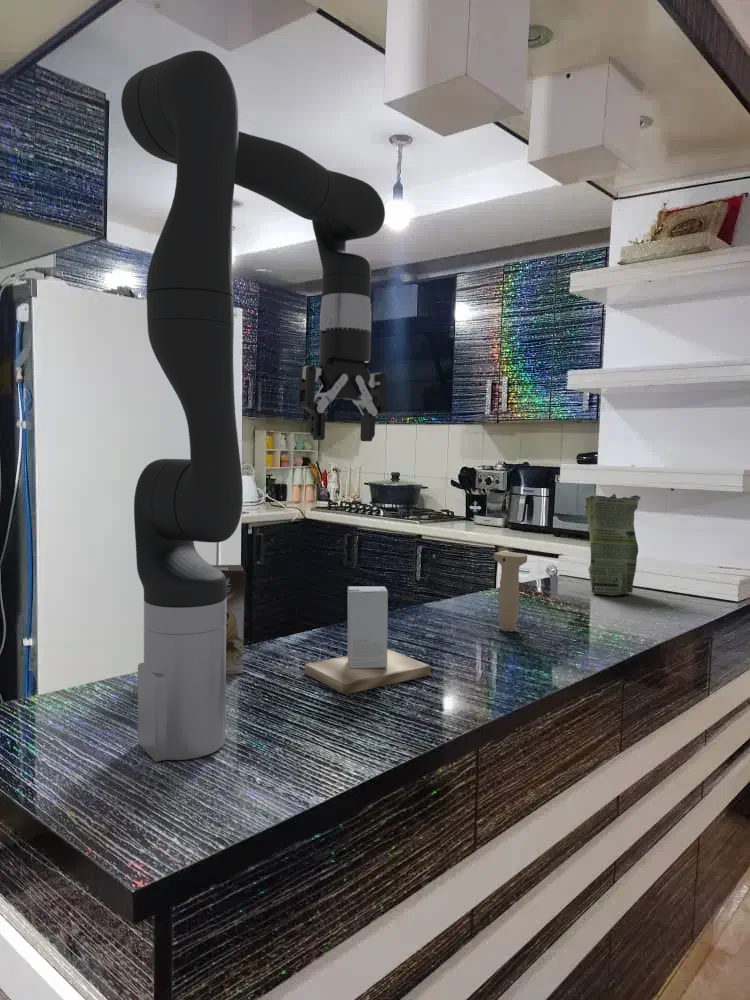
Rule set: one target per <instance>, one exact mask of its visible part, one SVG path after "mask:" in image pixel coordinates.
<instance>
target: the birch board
mask: <svg viewBox="0 0 750 1000" xmlns="http://www.w3.org/2000/svg"><path fill="white" fill-rule="evenodd" d="M304 674H305V675H307V676H309V677H311V678H313V679H314V680H316V681H318V682H320V683H322V684H324V685H326V686H328V687H330V688H332V689H334V690H335V691H338V692H339V693H342V694H343V695H349V694H354V693H358V692H362V691H367V690H372V689H375V688H376V689H377V688H380V687H384V686H389V685H393V684H398V683H401V682H407V681H410V680H415V679H419V678H424V677H428V676H431V665H430V664H428V663H425V662H423V661H419V660H417V659H414V658H413V657H411V656H410V657H409V656H408V655H404V654H402V653H400V652H397V651H394V650H392V649H389V648H388V647H387V668H349V664H348V655H346V656H340V657H334V658H329V659H324V660H319V661H314V662H309V663H305V664H304Z"/></svg>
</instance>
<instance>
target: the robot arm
mask: <svg viewBox="0 0 750 1000" xmlns="http://www.w3.org/2000/svg"><path fill="white" fill-rule="evenodd" d="M120 101H121V102H120V103H121V112H122V116H123V119H124V123H125V125H126V127H127V128H126V129H127V130H128V131H129V133H130V136H132V138H133V140H135V142H136V143H137V144H138V145H139V146H140V147H141V148H142V149H143V150H144V151H145V152H147V153H148V154H150V155H151V156H154V158H156V159H160V160H162V161H166V162H169V163H172V164H174V165H176V183H175V188H174V195H173V199H172V204H171V206H170V210H169V212H168V215H167V218H166V220H165V223H164V225H163V228H162V230H161V233H160V235H159V238H158V240H157V242H156V245H155V247H154V250H153V253H152V255H151V258H150V263H149V267H148V269H147V270H148V271H147V276H146V318H147V319H146V320H147V322H146V323H147V334H148V340H149V343H150V346H151V349H152V351H153V353H154V356H155V358H156V360H157V362H158V363H159V365H160V367H161V369H162V371H163V374H164V375H165V377H166V379H167V380H168V382H169V383H170V385H171V387H172V389H173V391H174V393H176V396H177V398H178V399H179V400H178V401H180V404H181V407H182V410H183V413H184V415H185V419H186V422H187V428H188V439H189V452H190V453H189V454H190V459H189V458H188V459H186V458H160V459H156V460H153V461H152V462H150V463H148V464H147V465H146V466H145V467H144V468H143V470H142V471H141V473H140V475H139V478H138V480H137V483H136V486H135V492H134V498H133V500H134V502H133V521H134V522H133V523H134V538H135V554H136V556H135V557H136V558H135V559H136V560H135V561H136V569H137V574H138V578H139V580H140V582H141V585H142V589H143V662H139V663H138V665H137V744H138V745H139V746H140V747H141V749H143V750H144V751H145V752H146V753H147V755H148V756H149V757H150V758H151V760H152V761H154V762H160V761H161V762H162V761H167V760H168V761H174V760H175V761H179V760H180V761H181V760H182V761H183V760H191V759H198V758H201V757H206V756H208V755H211V754H213V753H215V752H218V751H219V750H220V749H221V748H222V747H223V746H224V745H225V743H226V728H227V720H226V715H227V714H226V712H227V711H226V709H227V708H226V706H227V705H226V703H227V702H226V701H227V700H226V699H227V697H226V696H227V692H226V691H227V689H226V688H227V687H226V686H227V685H226V684H227V678H226V677H227V674H226V606H227V598H226V597H227V581H226V577H225V575H224V574H223V573H222V572H221V571H220V570H218V569H217V568H215V567H213V566H212V565H213V564H211V563H208V561H206V560H205V559H203V557H202V556H201V555H200V554H199V553H198V551H197V549H196V547H195V542H200V543H222V542H224V541H227V540H228V539H230V538H231V537H232V536H233V535H234V533H235V532H236V530H237V528H238V526H239V524H240V521H241V516H242V512H243V511H242V510H243V504H244V503H243V501H244V497H243V495H244V494H243V493H244V491H243V488H244V487H243V475H242V466H241V464H242V463H241V455H240V447H239V446H240V445H239V437H238V436H239V435H238V430H237V429H238V428H237V419H236V404H235V378H234V377H235V376H234V375H235V374H234V336H235V335H234V333H235V332H234V331H235V329H234V328H235V327H234V325H235V322H234V321H235V319H234V318H235V317H234V315H235V314H234V311H235V310H234V285H233V284H234V283H233V282H234V280H233V221H234V220H233V219H234V218H233V216H234V215H233V214H234V213H233V212H234V209H233V208H234V194H235V193H234V192H235V191H234V190H235V185H237V186H239V187H242V188H244V189H246V190H248V191H250V192H253V193H255V194H257V195H260V196H262V197H263V198H265V199H268V200H270V201H272V202H273V203H275V204H277V205H278V206H281V208H284V209H286V210H288V211H289V212H292V213H293V214H295V215H296V216H299V217H300V218H302V219H305V220H308V221H311V223H312V227H313V228H312V229H313V232H314V236H315V240H316V241H315V242H316V244H317V245H316V246H317V249H318V253H319V259H320V263H321V268H322V286H321V287H322V288H321V289H322V290H321V291H322V292H321V297H322V298H321V305H320V311H319V343H318V344H319V347H318V348H319V350H318V351H319V352H318V353H319V354H318V358H319V361H320V366H319V367H316V366H315V365H312V364H311V365H305V366H301V367H300V369H299V378H298V395H297V396H298V397H297V406H298V408H299V409H303V410H305V411H307V412H308V413H309V415H310V416H309V418H310V419H309V420H310V421H309V434H310V436H311V437H312V439H313V440H314V441H324V440H325V436H326V434H325V433H326V432H325V431H326V414H325V413H324V411H325V410H326V408H327V407H328V406H329V404H330V403H331V402H333V401H334V400H341V399H342V400H344V401H352V403H353V404H354V406H356V407H357V409H358V410H359V411H360V414H361V415H362V416H361V417H360V435H359V436H360V437H359V438H360V441H361V442H372V441H373V438H374V437H375V434H376V417H377V416H378V415H379V414H382V413H386V412H387V410H388V402H387V401H388V399H387V395H388V394H387V392H388V391H387V390H388V389H387V374H386V373H385V372H377V373H370V371H369V364H370V361H371V351H372V349H371V348H372V347H371V344H372V308H371V307H372V305H371V281H372V272H371V271H372V270H371V268H372V267H371V263H370V261H369V259H368V258H366V257H365V256H364V255H360V254H356V253H351V252H350V253H349V252H348V249H347V241H353V240H360V239H364V238H365V239H366V238H368V237H372V236H374V235H376V234H377V233H378V232H379V231H380V230H381V229H382V227H383V225H384V224H385V218H386V210H385V204H384V201H383V198H382V196H381V195H380V193H379V192H378V191H377V190H376V189H375V188H374V187H373V186H372V185H370V184H369V183H367V182H366V181H365V180H361V179H359V178H356V177H353V176H349V175H347V174H344V173H341V172H338V171H337V172H336V171H333V170H329V169H328V168H326V167H324V166H323V165H321V164H320V162H319V163H318V162H317V161H316V160H314V159H313V158H311V157H310V156H308V155H307V154H306V153H304V152H302V151H300V150H298V149H296V148H294V147H292V146H290V145H288V144H285V143H282V142H279V141H276V140H272V139H268V138H264V137H260V136H256V135H253V134H248V133H245V132H242V131H240V126H239V125H240V114H239V111H240V110H239V103H238V97H237V91H236V89H235V86H234V83H233V79H232V77H231V75H230V74H229V72H228V70H227V68H226V66H225V65H224V64H223V63H222V61H221V60H220V59H219V58H218V57H217V56H216V55H214V54H213V53H210V52H208V51H205V50H191V51H190V50H189V51H187V52H186V51H185V52H183V53H179V54H176V55H174V56H172V57H170V58H167V59H165V60H163V61H160V62H158V63H154V64H151V65H150V66H147V67H145V68H143V69H141V70H139V71H138V72H136V73H135V74H134V75H132V76H131V77H130V78H129V79H128V80H127V82H126V83H125V85H124V87H123V90H122V93H121V99H120ZM318 379H319V382H320V383H321V387H319V389H318V390H317V392H316V394H315V389H316V382H317V381H318ZM367 386H369V387H370V392H369V390H368V388H367Z"/></svg>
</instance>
